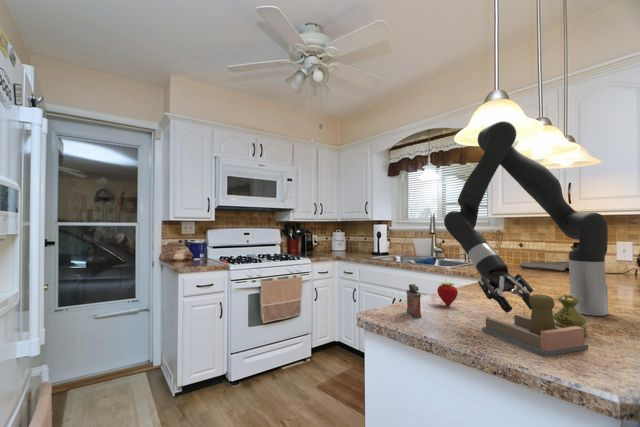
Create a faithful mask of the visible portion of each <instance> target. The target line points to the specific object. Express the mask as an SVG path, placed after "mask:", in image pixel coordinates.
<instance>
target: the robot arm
mask: <svg viewBox="0 0 640 427" xmlns="http://www.w3.org/2000/svg"><path fill="white" fill-rule="evenodd" d="M516 139H517V129H516V127H515V125H513V123H511V122H508V121H503V120H502V121H499V122H495V123H493V124H491V125H489V126H487V127H484V128H483V129H482V130H480V131H479V133H478V135H477V144H478V146H479V148H480V149H481V150H482V151H483V153H482V156H481V158H480V160H479V162H478V163H477V164H476V165H475V167H474V168H473V170H472V171H471V173H470V174H469V176H468V178H467V179H466V180H465V182H464V185H463V187H462V189H461V191H460V193H459V195H458V199H457V204H458V206H460V211H458V210H453V211H452V210H451V211H449V212H448V213H447V214H446V215H445V216H444V220H443V225H444V227H445V230H447V232H448V233H449V234H450V235H451V236H452V237H453V238H454V239H455V240H456V241H457V242H458V243H459V245H460V246H461V247H462V249H463V250H464V252H465V253H466V255H467V256H468V258H469V259H470V262H471V264H472V265H473V267H474V268H475V269H476V271H477V273H478V274H479V275H480V277H481V278H480V279H479V280H478V282H477V283H478V285H479V287H480V288H481V290H482V292H483V293H484V295H485V297H486V298H487V299H488V300H494V301H496V302H497V303H498V305H499V306H500V308H501V310H503V311H504V313H506V314H507V313H510V312H512V310H513V307H512V305H511V304H510V303H509V301H508V299H507V298H506V297H505V295H504V293H505V292H506V293H511V294H513V295H517V296H519V297H520V298H521V299H522V301H523V302H524V304H525V305H526V307H528V309H529V310H530V311H532V307H531V305H530V303H529V299H530V297H531V293H533V291H534V289H533V288H532V287H531V285H529V283H528V282H527V281H526V280H525V279H524V277H523V276H522V275H521V274H519V273H517V274H516V275H511V274H510V273H509V267H508V265H507V264H506V263H505V262H504V260H503V259H502V258H501V256H500V255H499V253H498V252H497V251H496V250H495V249H494V248H493V247H492V246H491V245H490V244H489V242H488V241H487V239H486V238H484V236H483V235H482V234H481V233H480V232H478V231H477V230H476V229H475V227H476V225H477V220H478V215H479V208H480V205H481V203H482V201H483V199H484V196H485V193H486V191H487V190H488V187H489V185H490V183H491V181H492V179H493V177H494V175H495V173H496V172H497V170H498V168H499V167H500V166H501V167H502V168H503V169H504V170H505V171H506V172H507V173H508V174H509V175H510V177H512V178H513V179H514V180H515V181H516V182H517V183H518V185H520V187H521V188H523V190H524V191H525V192H526V193H527V194H528V195H529V196H530V197H532V199H533V200H535V202H536V203H537V204H538V205H539V206H540V207H541V208H542V209H543V210H544V211H545V212H546V213H547V214H548V216H550V217H551V219H552V220H553V222H554V223H555V224H556V225H557V226H558V228H559V229H560V231H561V232H562V233H563V235H564V236H566V237H568V238H569V239H572V240H577V241H578V246H577V247H576V248H574V249H573V250H570V251H569V252H568V270H569V271H568V272H569V292H570V293H569V295H571V296H573V297H575V298H577V299H579V300H580V303H578V304H577V305H576V306H575V309H576V310H577V311H578V312H580V314H581V315H584V316H585V315H586V316H594V317H595V316H597V317H604V316H607V315H608V314H609V296H608V295H609V294H608V293H609V292H608V285H607V283H606V282H607V281H606V279H607V278H606V263H605V260H606V255H607V254H608V236H609V234H608V232H609V231H608V230H609V228H608V223H607V220H606V218H605V217H604V216H603V215H602V214H600V213H598V212H578V211H576V210H575V209H573V207H572V206H571V205H569V204H568V203H567V201H566V200H565V198H564V194H563V189H562V184H561V182H560V180H559V179H558V178H557V176H555V175H554V173H552V172H551V171H550V170H549V169H548V168H547V167H546V166H544V164H542V163H540V162H539V161H536V160H534V159H532V158H531V157H528V156H526V155H525V154H522V153H521V152H520V151H518V149H516V148H515V147H514V146H513V145H514V143H515V141H516ZM503 295H504V296H503Z"/></svg>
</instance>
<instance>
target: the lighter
mask: <svg viewBox="0 0 640 427" xmlns="http://www.w3.org/2000/svg"><path fill="white" fill-rule="evenodd" d="M405 292H406V314H407V315H408V316H409V317H411V318H413V319H422V314H421V297H422V294H421V293H420V292H419V286H417V285H416V284H415V283H409V284H408V289H406V291H405Z"/></svg>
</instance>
